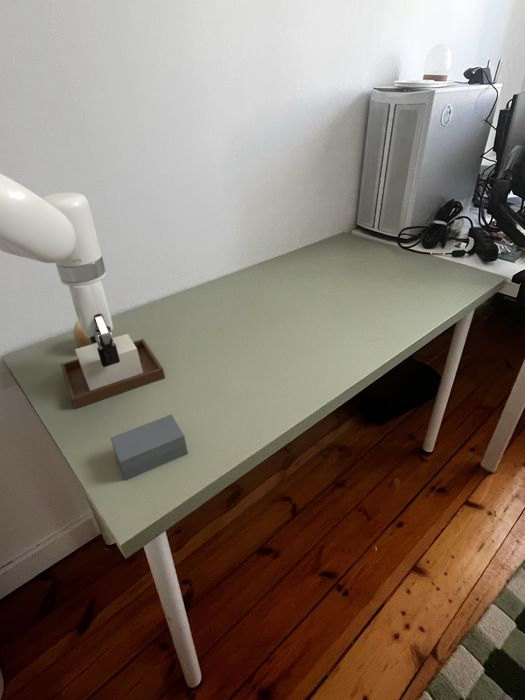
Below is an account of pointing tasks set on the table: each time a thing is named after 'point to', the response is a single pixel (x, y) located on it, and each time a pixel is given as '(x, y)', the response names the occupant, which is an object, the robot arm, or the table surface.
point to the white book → (91, 358)
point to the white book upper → (112, 369)
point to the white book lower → (114, 378)
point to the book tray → (85, 396)
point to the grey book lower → (154, 462)
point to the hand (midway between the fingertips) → (105, 351)
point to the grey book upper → (147, 442)
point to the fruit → (81, 336)
